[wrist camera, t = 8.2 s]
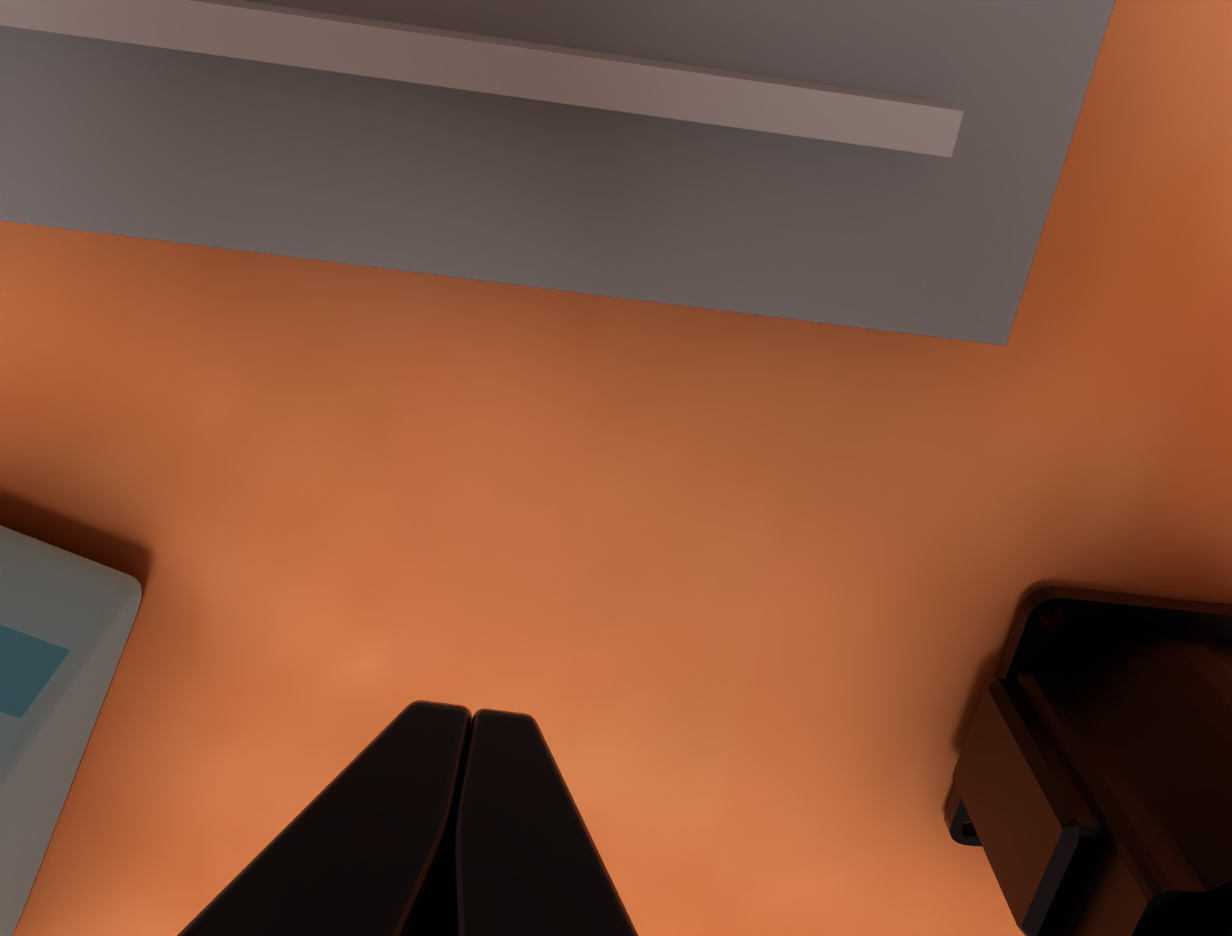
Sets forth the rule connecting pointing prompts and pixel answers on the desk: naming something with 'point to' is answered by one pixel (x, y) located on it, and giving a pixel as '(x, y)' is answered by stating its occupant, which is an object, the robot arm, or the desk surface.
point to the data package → (49, 691)
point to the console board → (571, 142)
